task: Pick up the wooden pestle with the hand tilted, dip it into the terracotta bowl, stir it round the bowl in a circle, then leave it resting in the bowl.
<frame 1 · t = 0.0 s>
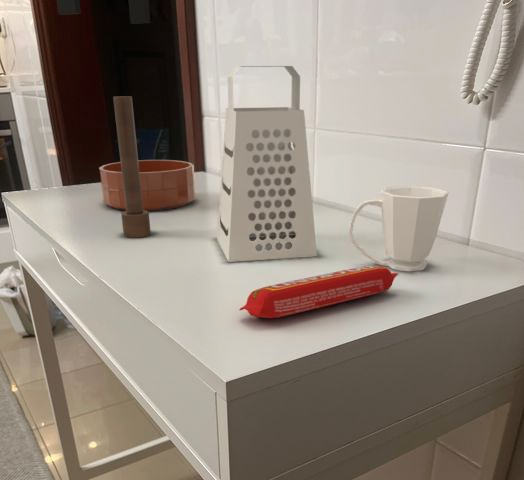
hand: (107, 19, 70), 26 cm above the table, tool pointing down, fingers open, 13 cm apart
candy bar: (321, 308, 51), on the table
grater: (264, 248, 69), on the table
wooden pestle: (137, 234, 75), on the table
bowl: (150, 202, 95), on the table
cup: (392, 266, 62), on the table
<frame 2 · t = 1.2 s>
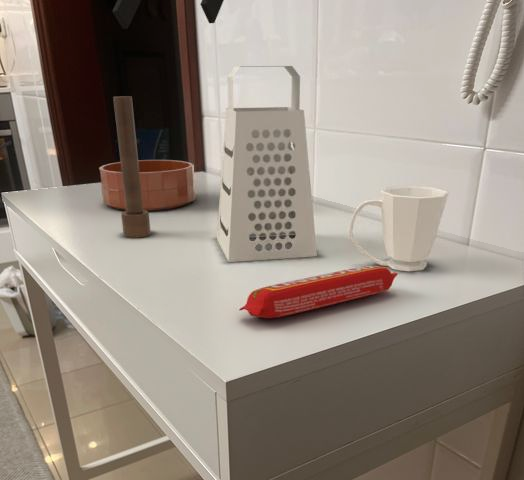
hand: (161, 17, 72), 26 cm above the table, tool tilted 45°, fingers open, 13 cm apart
nothing on the table moved.
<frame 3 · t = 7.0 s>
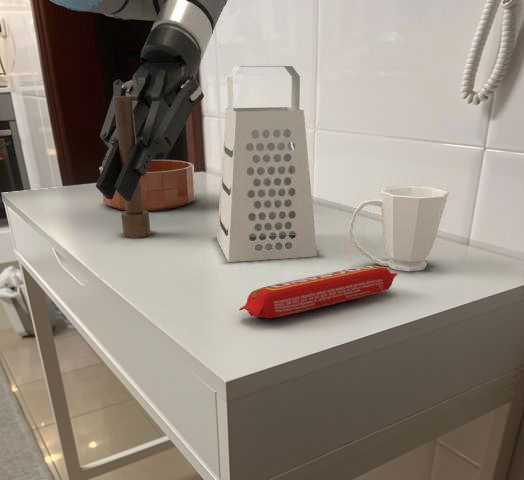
hand: (113, 193, 69), 6 cm above the table, tool tilted 45°, fingers closed on wooden pestle, 2 cm apart
wooden pestle: (137, 234, 75), on the table, touching gripper
everything else where it was.
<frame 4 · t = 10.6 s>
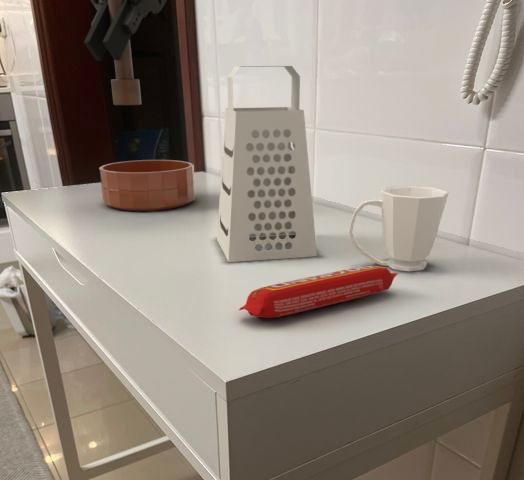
hand: (102, 51, 68), 22 cm above the table, tool tilted 45°, fingers closed on wooden pestle, 2 cm apart
wooden pestle: (127, 104, 74), point 16 cm above the table, touching gripper
everything else where it was.
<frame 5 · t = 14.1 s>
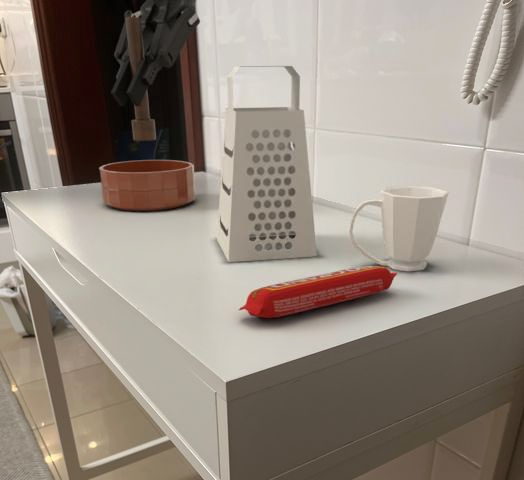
hand: (125, 99, 84), 16 cm above the table, tool tilted 45°, fingers closed on wooden pestle, 2 cm apart
wooden pestle: (144, 139, 90), point 10 cm above the table, touching gripper
everything else where it was.
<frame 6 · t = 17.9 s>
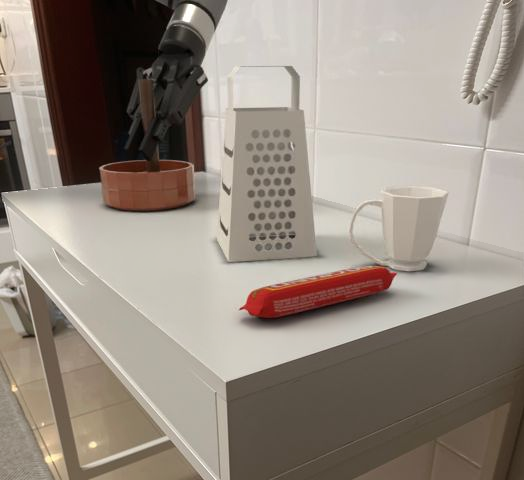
hand: (137, 154, 90), 8 cm above the table, tool tilted 45°, fingers closed on wooden pestle, 2 cm apart
wooden pestle: (155, 189, 96), point 2 cm above the table, touching gripper
everything else where it was.
when the fingers open (7 cm above the table, at t = 21.1 s): wooden pestle stays where it is, resting on bowl.
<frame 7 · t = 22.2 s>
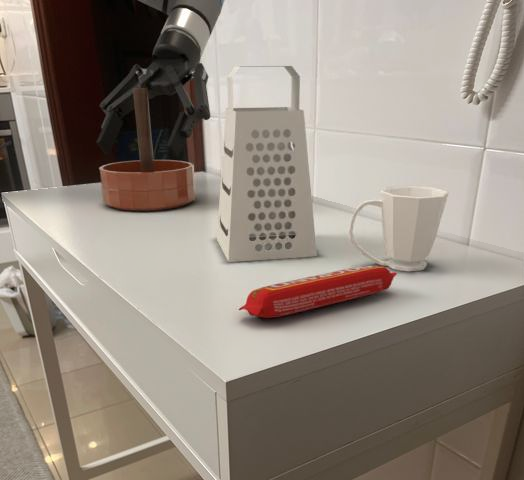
hand: (136, 150, 89), 9 cm above the table, tool tilted 45°, fingers open, 13 cm apart
wooden pestle: (150, 199, 94), point 1 cm above the table, touching bowl
everything else where it was.
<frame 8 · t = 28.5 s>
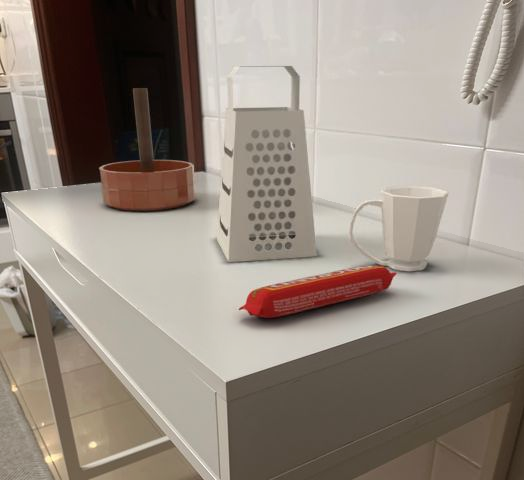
nothing on the table moved.
at the end: wooden pestle inside the target area in the bowl (0.1 cm from its centre), point 0.6 cm above the bowl's base; wooden pestle moved 21.6 cm from its start; the gripper is holding nothing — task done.
